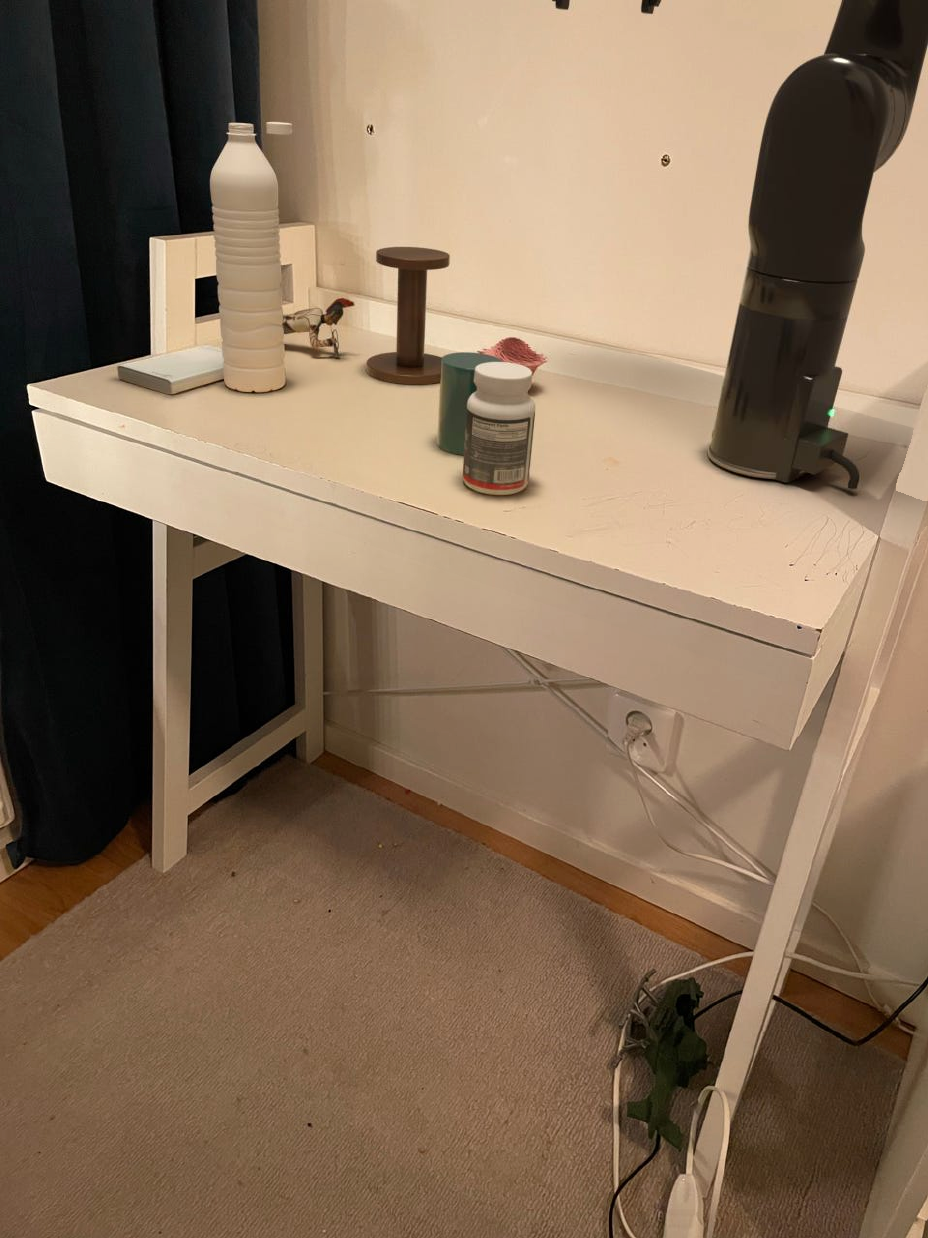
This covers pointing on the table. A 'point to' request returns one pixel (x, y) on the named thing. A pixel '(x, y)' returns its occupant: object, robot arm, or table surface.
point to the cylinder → (457, 397)
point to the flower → (516, 353)
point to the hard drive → (176, 370)
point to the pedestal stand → (409, 318)
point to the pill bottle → (499, 429)
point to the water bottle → (249, 261)
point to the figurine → (317, 322)
